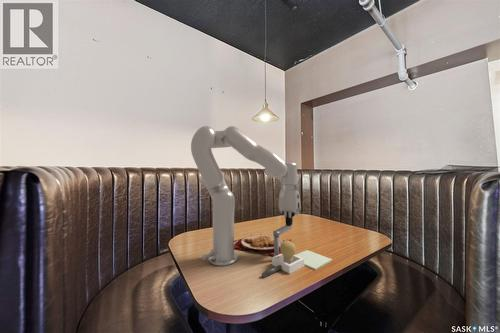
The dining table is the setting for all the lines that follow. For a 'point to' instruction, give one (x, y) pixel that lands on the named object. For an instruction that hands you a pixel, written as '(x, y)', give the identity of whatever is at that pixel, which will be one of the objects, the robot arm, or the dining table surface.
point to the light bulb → (288, 251)
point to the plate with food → (258, 244)
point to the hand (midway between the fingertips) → (288, 225)
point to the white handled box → (279, 263)
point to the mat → (313, 259)
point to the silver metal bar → (281, 230)
